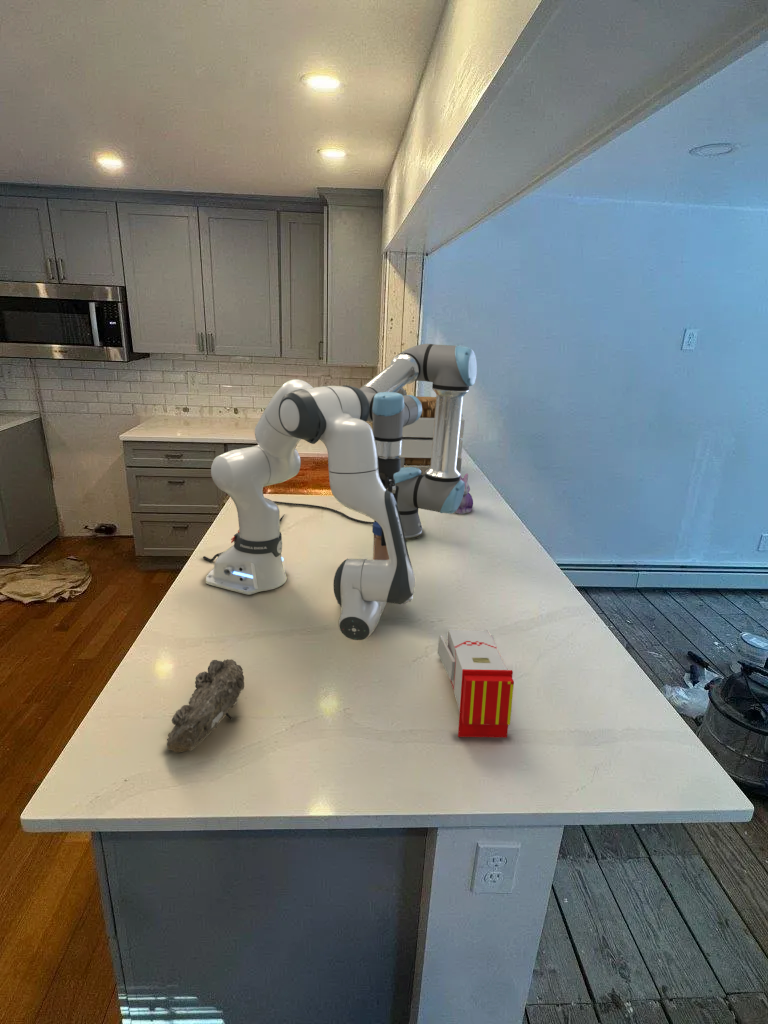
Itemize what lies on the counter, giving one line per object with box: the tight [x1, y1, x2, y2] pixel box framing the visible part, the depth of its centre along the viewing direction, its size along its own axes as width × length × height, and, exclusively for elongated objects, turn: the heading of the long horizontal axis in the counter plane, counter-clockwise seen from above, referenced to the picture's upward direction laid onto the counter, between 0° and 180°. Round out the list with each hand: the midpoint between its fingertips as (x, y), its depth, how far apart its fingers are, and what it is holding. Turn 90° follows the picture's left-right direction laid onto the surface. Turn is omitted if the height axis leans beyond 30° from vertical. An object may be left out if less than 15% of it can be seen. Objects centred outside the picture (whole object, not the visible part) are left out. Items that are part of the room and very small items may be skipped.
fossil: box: [166, 658, 245, 754], centre depth 106 cm, size 22×10×15 cm
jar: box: [372, 534, 389, 560], centre depth 153 cm, size 5×5×20 cm
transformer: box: [396, 387, 465, 475], centre depth 268 cm, size 34×33×41 cm
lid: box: [371, 521, 382, 536], centre depth 149 cm, size 6×6×2 cm
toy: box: [437, 628, 515, 738], centre depth 117 cm, size 12×13×30 cm
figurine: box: [454, 473, 474, 515], centre depth 223 cm, size 9×10×15 cm
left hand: (381, 573), depth 155 cm, fingers closed on jar, 4 cm apart
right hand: (382, 540), depth 150 cm, fingers closed on lid, 5 cm apart
